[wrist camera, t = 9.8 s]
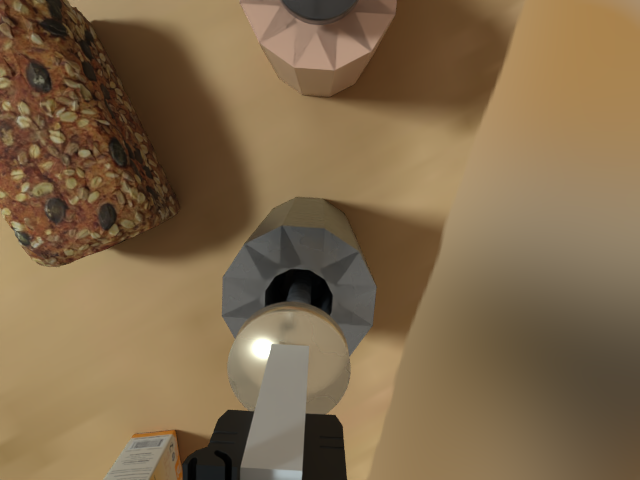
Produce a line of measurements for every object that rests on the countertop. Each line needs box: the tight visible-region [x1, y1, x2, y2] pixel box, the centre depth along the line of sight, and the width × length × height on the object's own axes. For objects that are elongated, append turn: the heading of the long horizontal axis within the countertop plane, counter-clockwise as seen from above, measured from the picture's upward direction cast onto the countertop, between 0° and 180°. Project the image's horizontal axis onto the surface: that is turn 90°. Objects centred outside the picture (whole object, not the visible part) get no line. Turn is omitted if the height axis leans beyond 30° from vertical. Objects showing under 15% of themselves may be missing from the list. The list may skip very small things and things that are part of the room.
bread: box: [0, 0, 180, 267], centre depth 32 cm, size 19×11×10 cm, turn 21°
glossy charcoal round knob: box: [280, 0, 359, 25], centre depth 27 cm, size 5×5×12 cm
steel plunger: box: [227, 269, 350, 414], centre depth 23 cm, size 5×5×13 cm
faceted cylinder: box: [222, 197, 377, 356], centre depth 32 cm, size 9×12×15 cm
